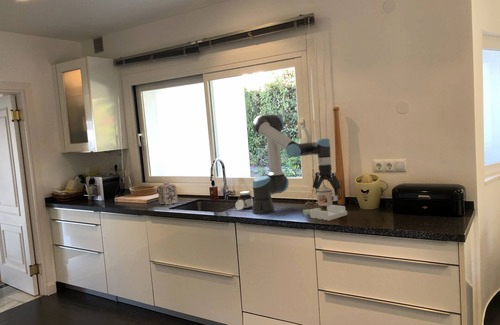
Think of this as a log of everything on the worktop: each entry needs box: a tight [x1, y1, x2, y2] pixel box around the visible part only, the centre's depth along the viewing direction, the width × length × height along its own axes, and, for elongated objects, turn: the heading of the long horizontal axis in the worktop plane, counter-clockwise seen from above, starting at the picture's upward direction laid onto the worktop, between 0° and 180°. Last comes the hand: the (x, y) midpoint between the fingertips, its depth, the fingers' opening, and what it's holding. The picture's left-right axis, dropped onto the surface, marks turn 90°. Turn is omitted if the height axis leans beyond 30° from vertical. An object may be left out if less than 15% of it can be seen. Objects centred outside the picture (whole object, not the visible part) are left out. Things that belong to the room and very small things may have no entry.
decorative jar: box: [157, 181, 179, 205], centre depth 319 cm, size 12×12×18 cm
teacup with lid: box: [316, 184, 335, 207], centre depth 232 cm, size 12×9×12 cm
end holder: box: [309, 204, 348, 222], centre depth 232 cm, size 14×17×5 cm
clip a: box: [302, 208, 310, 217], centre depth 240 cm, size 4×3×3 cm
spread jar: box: [235, 190, 254, 211], centre depth 275 cm, size 12×11×12 cm
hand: (327, 199), depth 232 cm, fingers closed on teacup with lid, 12 cm apart
